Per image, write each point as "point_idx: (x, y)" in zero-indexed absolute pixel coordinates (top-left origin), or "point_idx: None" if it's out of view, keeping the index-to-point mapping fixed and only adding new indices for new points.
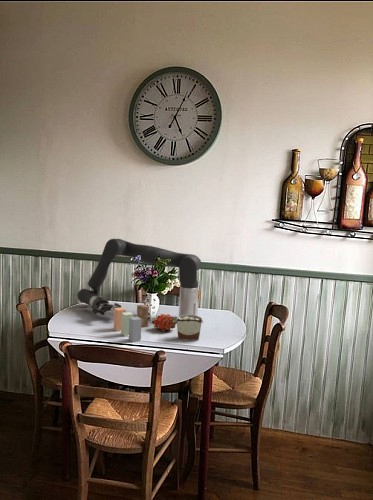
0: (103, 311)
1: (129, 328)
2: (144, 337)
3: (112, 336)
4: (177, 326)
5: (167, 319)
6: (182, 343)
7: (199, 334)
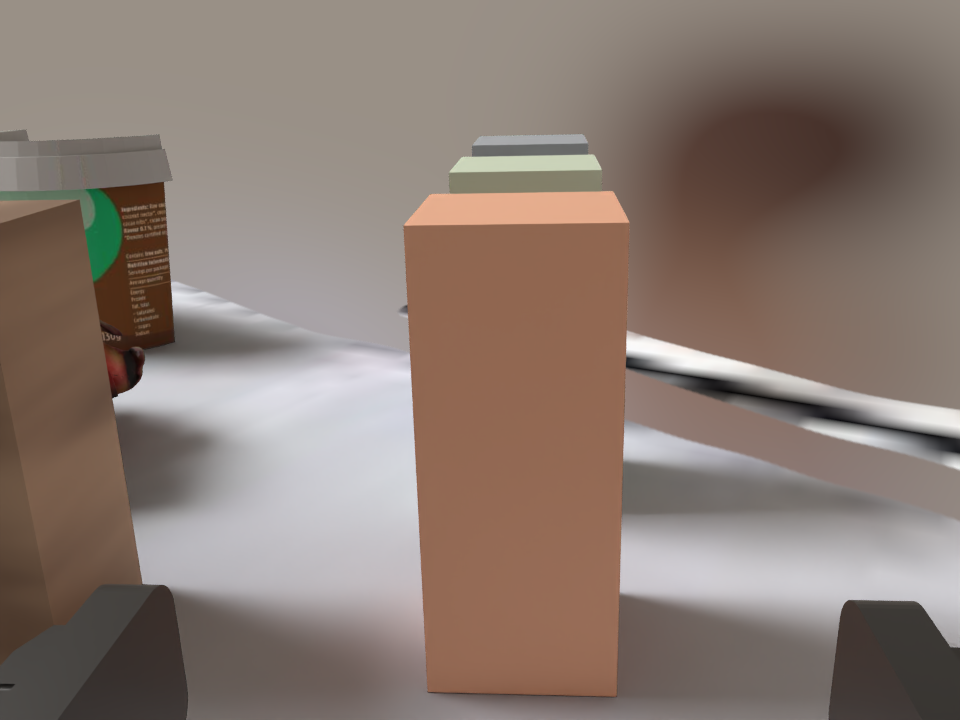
0: (885, 601)
1: None
2: (389, 407)
3: (749, 495)
4: (164, 219)
5: None
6: (224, 314)
7: None
